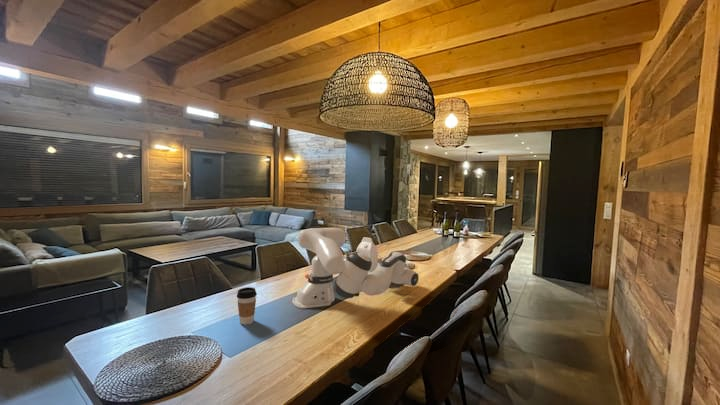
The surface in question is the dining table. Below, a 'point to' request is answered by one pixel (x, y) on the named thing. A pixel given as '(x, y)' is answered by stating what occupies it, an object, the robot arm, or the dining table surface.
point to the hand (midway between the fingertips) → (383, 266)
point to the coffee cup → (246, 305)
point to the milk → (369, 251)
